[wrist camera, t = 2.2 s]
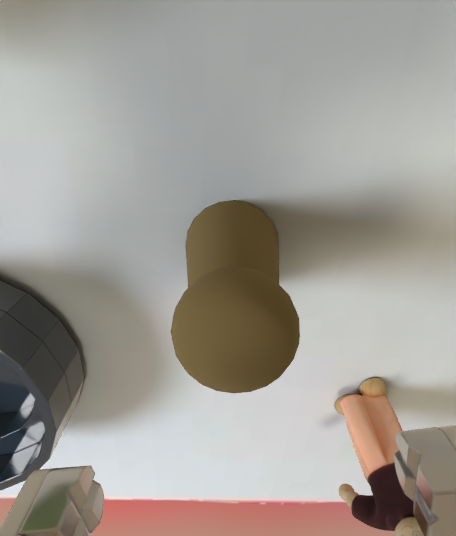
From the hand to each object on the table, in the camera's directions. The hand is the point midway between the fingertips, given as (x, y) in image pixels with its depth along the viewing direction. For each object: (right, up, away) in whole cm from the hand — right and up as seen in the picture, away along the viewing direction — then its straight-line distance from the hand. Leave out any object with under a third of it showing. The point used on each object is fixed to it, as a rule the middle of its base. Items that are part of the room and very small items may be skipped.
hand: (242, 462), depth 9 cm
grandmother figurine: (+10, -6, +19) cm, 23 cm away
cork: (0, +7, +14) cm, 15 cm away
